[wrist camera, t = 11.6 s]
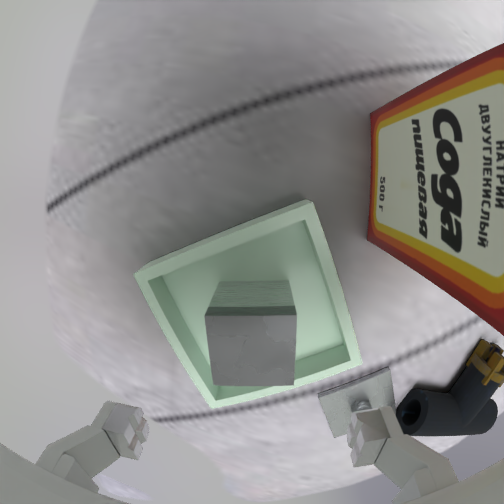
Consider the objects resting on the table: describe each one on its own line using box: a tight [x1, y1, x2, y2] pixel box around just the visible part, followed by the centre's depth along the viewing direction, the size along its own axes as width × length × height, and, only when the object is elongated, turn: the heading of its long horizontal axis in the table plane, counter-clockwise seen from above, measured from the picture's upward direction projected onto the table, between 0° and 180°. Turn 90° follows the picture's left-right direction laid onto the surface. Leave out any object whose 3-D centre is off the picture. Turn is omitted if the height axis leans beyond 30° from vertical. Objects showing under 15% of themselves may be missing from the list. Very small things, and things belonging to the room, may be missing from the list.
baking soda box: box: [367, 43, 504, 336], centre depth 11 cm, size 10×6×16 cm
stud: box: [318, 367, 396, 438], centre depth 22 cm, size 7×7×4 cm
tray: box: [133, 199, 363, 409], centre depth 20 cm, size 13×13×3 cm
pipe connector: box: [395, 339, 504, 436], centre depth 21 cm, size 12×5×15 cm
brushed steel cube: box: [204, 280, 297, 386], centre depth 19 cm, size 5×5×6 cm
